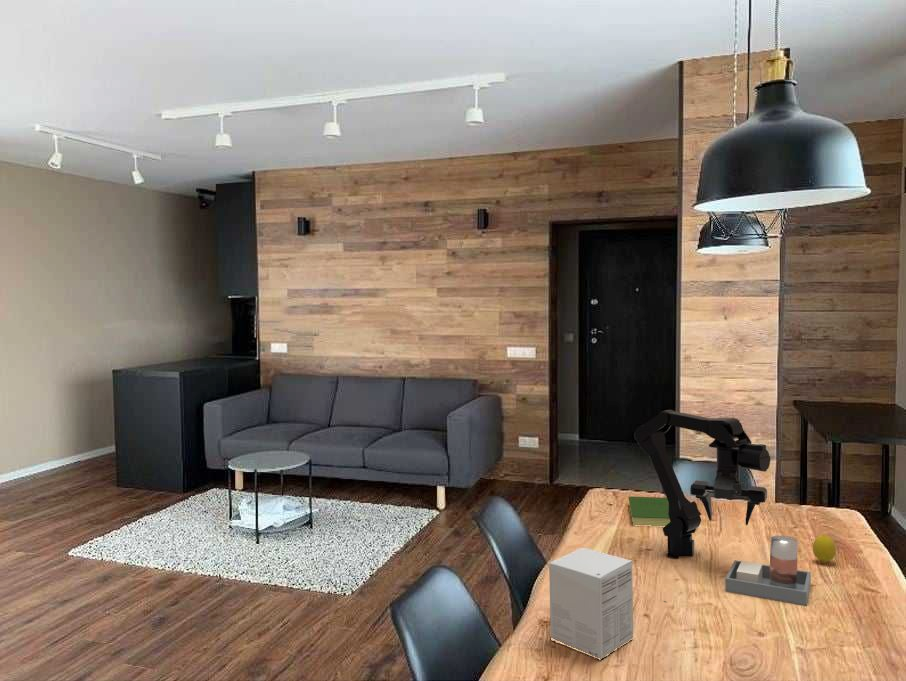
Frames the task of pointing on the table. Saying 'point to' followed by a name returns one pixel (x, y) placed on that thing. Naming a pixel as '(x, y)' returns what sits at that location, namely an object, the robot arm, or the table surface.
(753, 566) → the white rectangular block
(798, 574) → the tote
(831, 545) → the lemon
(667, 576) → the table surface
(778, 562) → the steel tin
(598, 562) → the supplement box
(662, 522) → the hardcover book
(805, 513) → the table surface
